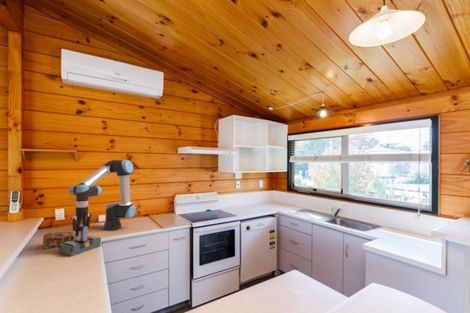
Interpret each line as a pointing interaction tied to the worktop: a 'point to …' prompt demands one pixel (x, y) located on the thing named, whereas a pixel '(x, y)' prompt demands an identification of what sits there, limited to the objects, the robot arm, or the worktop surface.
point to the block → (82, 233)
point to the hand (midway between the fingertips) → (80, 239)
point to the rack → (79, 246)
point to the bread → (57, 239)
